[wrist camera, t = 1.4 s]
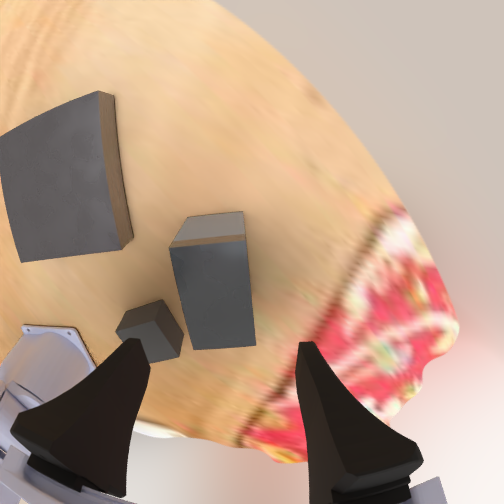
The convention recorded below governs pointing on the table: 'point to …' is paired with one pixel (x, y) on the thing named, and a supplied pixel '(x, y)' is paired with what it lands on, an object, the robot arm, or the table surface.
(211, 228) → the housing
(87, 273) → the table surface
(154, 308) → the rubber block
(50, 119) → the stand
